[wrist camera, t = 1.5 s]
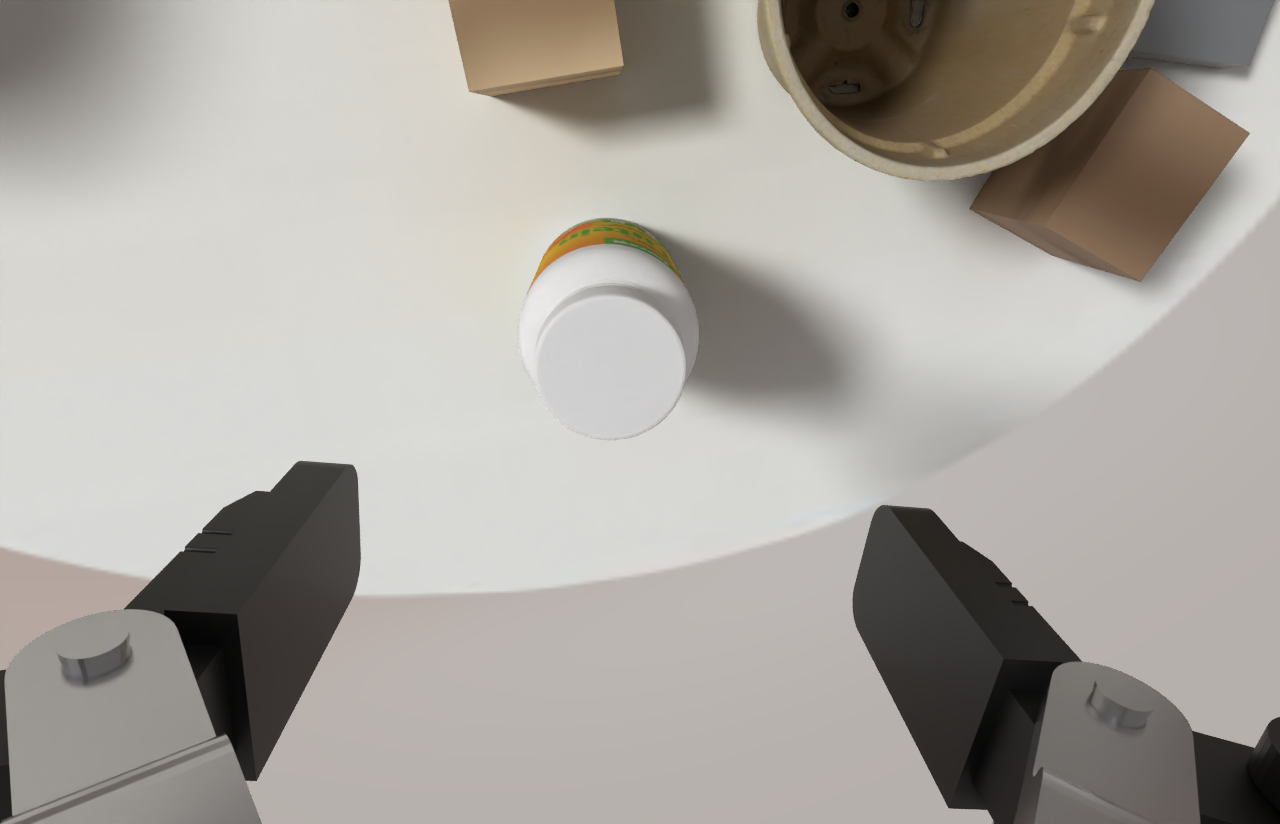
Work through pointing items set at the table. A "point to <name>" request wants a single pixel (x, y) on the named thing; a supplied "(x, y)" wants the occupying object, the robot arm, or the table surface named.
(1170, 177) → the walnut block
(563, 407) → the supplement bottle
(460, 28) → the oak cube
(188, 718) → the robot arm
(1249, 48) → the coaster
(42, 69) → the table surface
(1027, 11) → the flower pot
